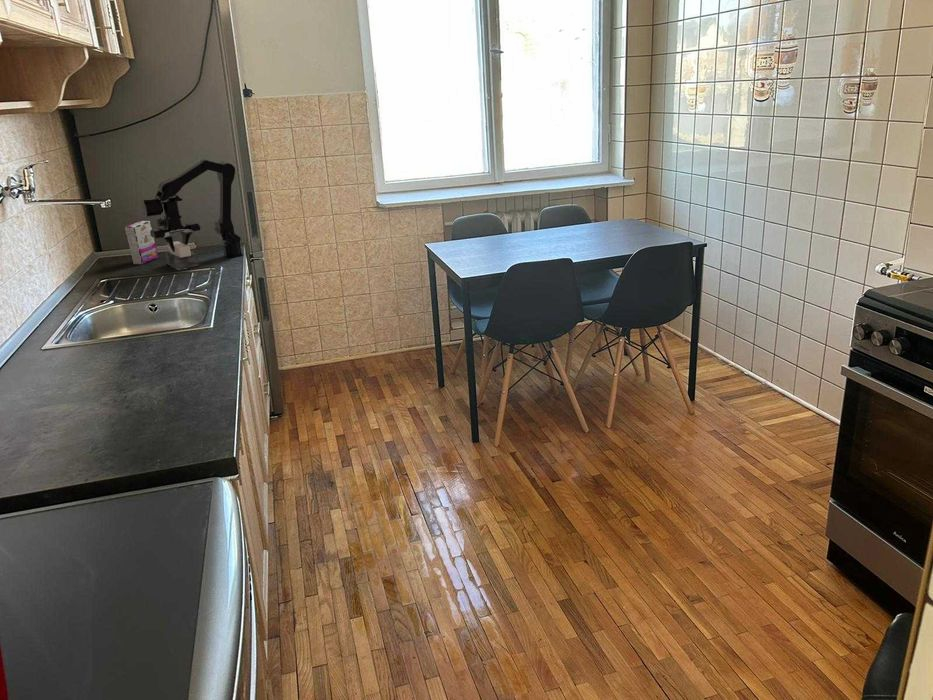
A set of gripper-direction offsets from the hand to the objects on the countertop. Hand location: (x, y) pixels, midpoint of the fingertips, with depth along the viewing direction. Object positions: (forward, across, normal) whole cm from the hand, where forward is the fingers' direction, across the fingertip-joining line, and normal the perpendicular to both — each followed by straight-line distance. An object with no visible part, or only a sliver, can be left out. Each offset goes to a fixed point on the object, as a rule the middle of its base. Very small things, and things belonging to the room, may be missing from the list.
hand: (179, 250), depth 295 cm
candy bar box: (+7, +8, -20) cm, 23 cm away
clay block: (+2, 0, 0) cm, 2 cm away
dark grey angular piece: (+6, 0, 0) cm, 6 cm away
